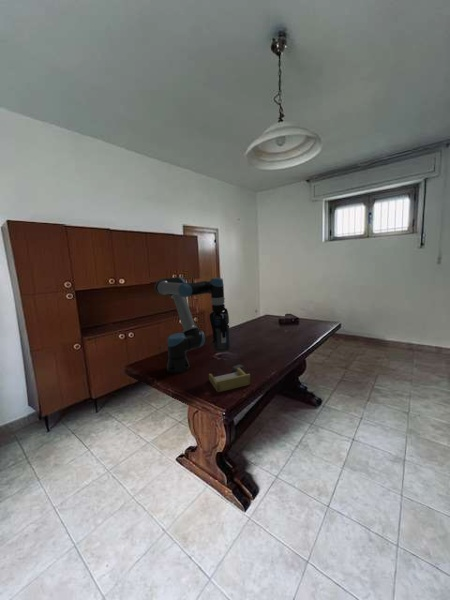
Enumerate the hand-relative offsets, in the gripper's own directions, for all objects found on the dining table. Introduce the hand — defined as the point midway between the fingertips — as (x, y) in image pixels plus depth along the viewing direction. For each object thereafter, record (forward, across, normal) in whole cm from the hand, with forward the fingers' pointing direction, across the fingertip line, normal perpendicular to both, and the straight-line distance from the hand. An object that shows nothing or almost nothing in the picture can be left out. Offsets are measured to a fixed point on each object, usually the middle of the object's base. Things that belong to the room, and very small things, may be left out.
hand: (220, 340), depth 150 cm
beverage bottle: (+6, 0, 0) cm, 6 cm away
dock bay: (+23, -8, -1) cm, 25 cm away
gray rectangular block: (+24, +3, -12) cm, 27 cm away
